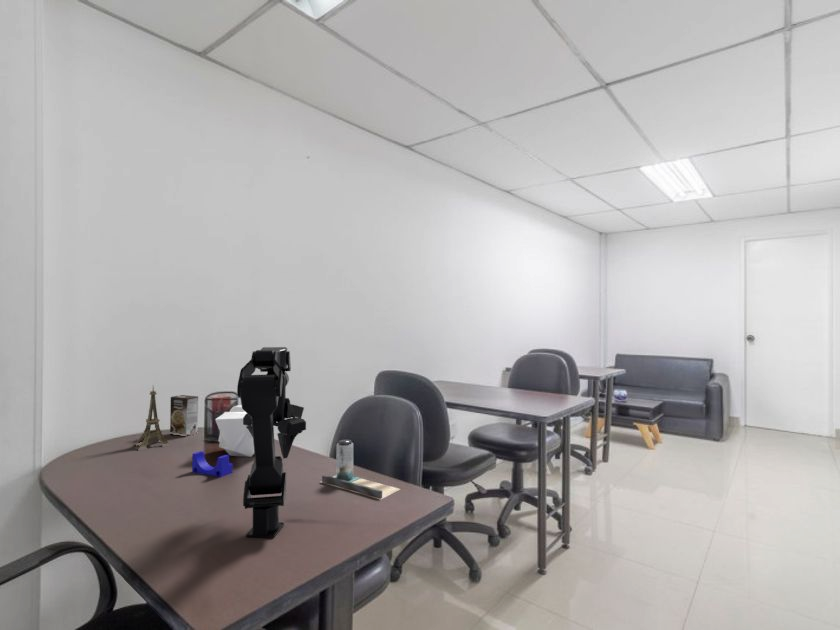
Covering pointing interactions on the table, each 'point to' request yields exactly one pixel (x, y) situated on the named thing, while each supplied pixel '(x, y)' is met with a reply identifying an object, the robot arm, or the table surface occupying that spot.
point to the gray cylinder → (344, 460)
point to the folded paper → (235, 433)
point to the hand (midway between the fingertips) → (273, 455)
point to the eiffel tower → (150, 421)
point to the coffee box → (184, 414)
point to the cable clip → (204, 468)
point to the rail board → (361, 486)
